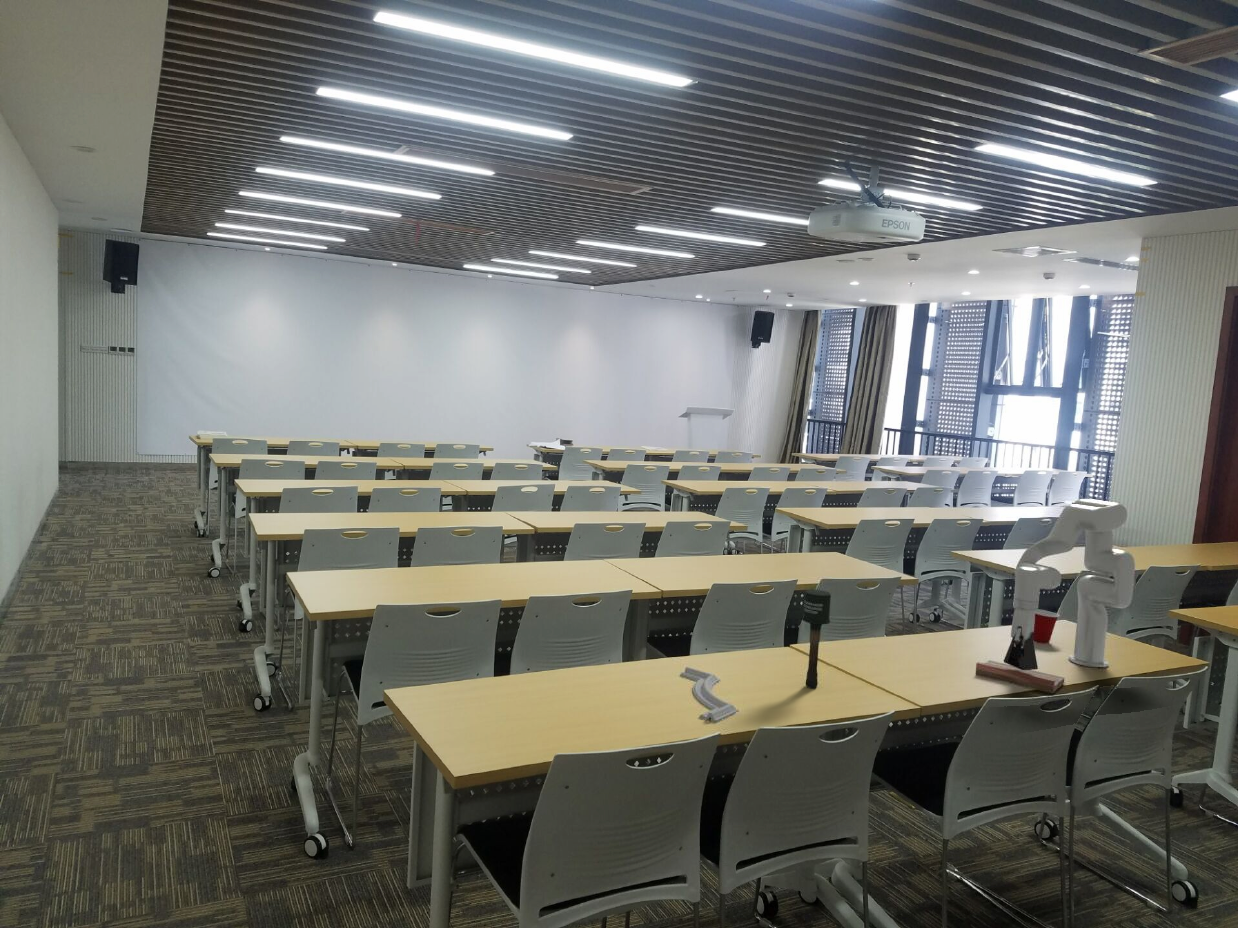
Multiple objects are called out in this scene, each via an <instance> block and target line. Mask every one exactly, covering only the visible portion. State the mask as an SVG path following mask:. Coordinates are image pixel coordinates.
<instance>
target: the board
mask: <svg viewBox="0 0 1238 928" xmlns="http://www.w3.org/2000/svg"><path fill="white" fill-rule="evenodd" d="M975 663H976V665H975V674H976V676H979V677H983V676H984V678H988V679H992V680H996V679H997V680H996V681H1001V682H1004V683H1008V684H1013V685H1016V686H1020V687H1025V688H1029V689H1033V690H1038V691H1040V692H1041V691H1042V692H1045V693H1050V694H1054V693H1055V692H1056V691H1057V690H1058V689H1060V687H1062V686H1063V685H1064V684H1065V677H1063V676H1060V675H1055V674H1051V673H1045V672H1041V671H1037V670H1021V669H1018V668H1016V667H1014V666H1011V665H1009V664H1007V663H1004V662H1003V663H1002V662H998V661H994V660H987V661H985V662H979V661H977V662H975ZM1063 683H1064V684H1063ZM1061 685H1062V686H1061Z"/></svg>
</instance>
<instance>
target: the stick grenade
mask: <svg viewBox="0 0 1238 928" xmlns="http://www.w3.org/2000/svg"><path fill="white" fill-rule="evenodd" d="M831 598H832V595H831V592H829V591H827V590H821V589H807V590H805V592H804V601H803V602H804V605H803V616H801V621H803V622H806V623H808V624H810V626H809V653H808V665H807V666H808V667H807V671H806V679H805V687H807V688H808V687H810V688H809V689H816V688H817V687H818V683H819V682H818V661H819V646H820V641H821V630H822V625H828V624H831V619H830V614H831ZM815 687H816V688H815Z"/></svg>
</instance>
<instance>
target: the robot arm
mask: <svg viewBox="0 0 1238 928" xmlns="http://www.w3.org/2000/svg"><path fill="white" fill-rule="evenodd" d="M1127 518H1128V512H1127V509H1126V507H1125V506H1124V504H1122V503H1119V502H1112V501H1105V500H1101V499H1100V500H1099V499H1089V498H1080V499H1077V500H1075V501H1074V503H1073V504H1068V505H1067V506H1065V507H1064V508H1063V509H1062V511H1061V513H1060V515H1059V516H1058V518H1057V519H1056V521H1055V524H1054V525H1053V527H1052V529H1051V531H1050V532H1049V534H1048V536H1046V537H1045V538H1043V539H1040V540H1038V541H1037V542H1036V543H1034V544H1032V545H1030V546H1029V547H1028V548H1027V549H1025V550H1024V552H1023V553H1022V554H1021V557H1020V559H1019V561H1018V562H1017V565H1016V566H1015V570H1014V577H1015V583H1014V593H1013V602H1012V604H1013V605H1012V607H1013V609H1014V610H1013V617H1012V621H1011V630H1010V637H1011V638H1014V637H1015V643H1014V653H1013V658H1014V659H1018V658H1020V657H1021V652H1022V655H1023V658H1024V651H1025V649H1024V643H1025V640H1026V639H1028V638H1030V635H1031V633H1032V631H1033V632H1034V622H1035V611H1038V609H1039V603H1040V602H1039V601H1040V594H1041V593H1040V591H1041V590H1055V589H1056V588H1058V587H1059V586H1060V585H1061V583H1062V573H1061V572H1060V570H1058V569H1057V568H1055V567H1052V566H1047V565H1042V564H1041V563H1040V564H1038V562H1039V561H1040V560H1042V559H1043V558H1046V557H1050V556H1054V555H1060V554H1064V553H1069V552H1071V551H1072V550H1073V549H1074V547H1075V546H1076V544H1077V542H1078V540H1079V538H1080V536H1081V535H1082V532H1085V533H1084V534H1085V539H1084V540H1085V541H1084V542H1085V543H1084V555H1083V556H1084V557H1083V562H1084V563H1083V565H1084V567H1085V569H1086V570H1088V571H1089V572H1092V573H1097V574H1101V575H1106V576H1111V577H1113V578H1109V577H1104V576H1098V575H1090V574H1088V575H1084V576H1082V577H1081V578H1079V580H1078V582H1077V584H1076V585H1077V586H1076V587H1077V588H1076V591H1077V598H1078V599H1077V601H1078V602H1077V603H1078V607H1077V616H1076V617H1077V619H1076V629H1075V630H1076V632H1075V638H1074V648H1073V649H1074V650H1073V653H1072V654H1070V655H1068V660H1069V661H1070V662H1072V663H1074V664H1077V665H1080V666H1084V667H1090V668H1098V667H1100V668H1101V667H1103V668H1107V667H1108V666H1109V662H1108V660H1106V659H1105V652H1106V651H1105V649H1106V640H1107V632H1108V622H1109V621H1108V620H1109V617H1108V616H1109V615H1108V612H1107V609H1106V607H1105V606H1107V607H1111V608H1117V609H1126V608H1127V607H1129V606H1130V605H1131V602H1132V600H1133V595H1134V594H1133V593H1134V585H1135V571H1136V564H1135V558H1134V557H1133V555H1132V553H1130V551H1129V552H1128V551H1126V550H1122V549H1117V548H1114V546H1113V544H1114V543H1113V538H1114V534H1113V530H1115V529H1118V528H1120V527H1122V526H1123V525H1124V524H1125V523H1126V521H1127ZM1020 637H1023V639H1021V638H1020ZM1021 641H1022V642H1021ZM1018 660H1019V659H1018Z"/></svg>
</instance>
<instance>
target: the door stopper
mask: <svg viewBox="0 0 1238 928" xmlns="http://www.w3.org/2000/svg"><path fill="white" fill-rule="evenodd" d="M1033 637H1034V633H1033V631H1032V633H1031V635H1030V638H1028V639H1026V640H1025V643H1024V649H1025V651H1024V658H1023V655H1022V652H1021V657H1020V658H1018V659H1019V660H1018V659H1014V658H1013V653H1014V643H1015V637H1014V638H1012V637H1011V638H1012V639H1011V641H1010V644H1009V646H1008V649H1007V651H1006V654H1005V656H1004V659H1003V664H1007V665H1011V666H1014V667H1016V668H1018V669H1021V670H1033V671H1036V670H1038V669H1039V667H1038V660H1037V656H1036V649H1035V648H1036V647H1035V645H1034V643H1035V641H1033ZM1020 638H1021V639H1023V637H1020ZM1021 642H1022V641H1021Z"/></svg>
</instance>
